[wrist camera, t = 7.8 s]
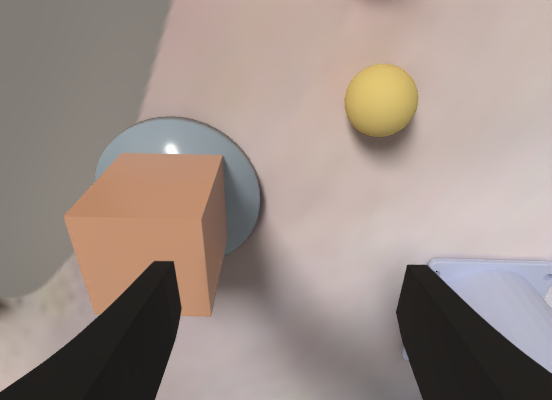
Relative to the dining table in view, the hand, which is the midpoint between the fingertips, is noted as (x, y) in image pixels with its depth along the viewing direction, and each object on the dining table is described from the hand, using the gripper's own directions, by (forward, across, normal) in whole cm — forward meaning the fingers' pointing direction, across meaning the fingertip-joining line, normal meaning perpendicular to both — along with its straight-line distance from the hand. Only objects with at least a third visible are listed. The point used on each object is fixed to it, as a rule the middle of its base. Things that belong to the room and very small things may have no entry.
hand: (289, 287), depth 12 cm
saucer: (+10, +6, +2) cm, 12 cm away
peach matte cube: (+9, +6, +2) cm, 11 cm away
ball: (+10, -4, -4) cm, 11 cm away
